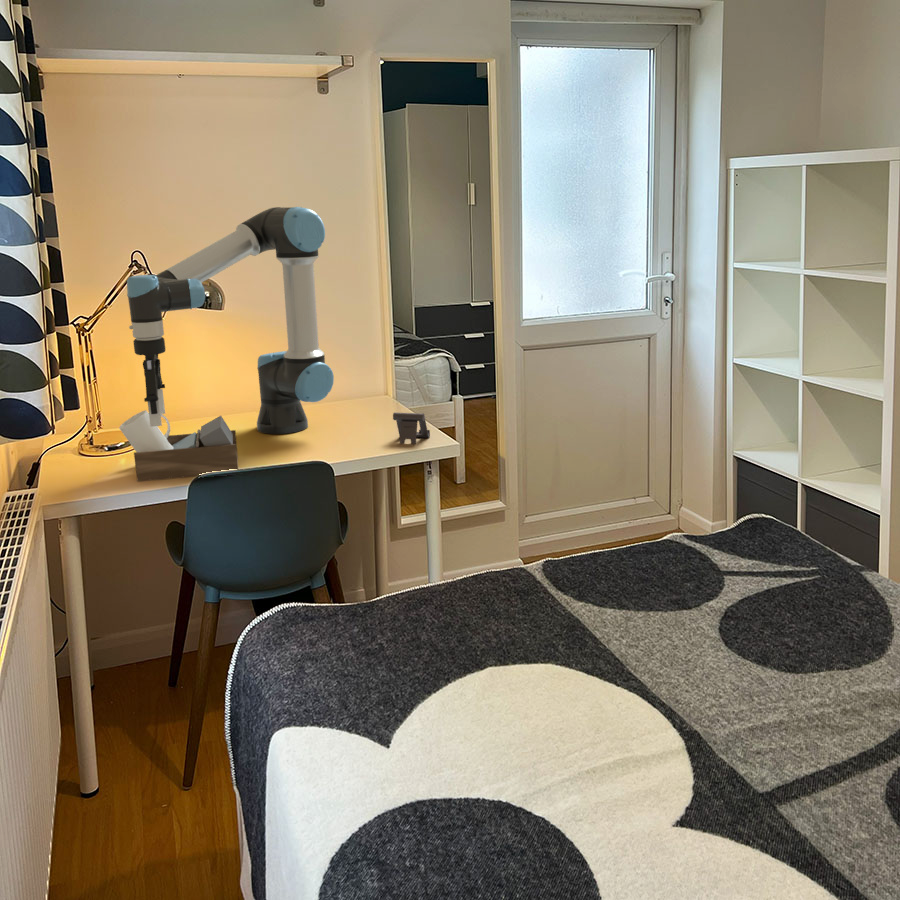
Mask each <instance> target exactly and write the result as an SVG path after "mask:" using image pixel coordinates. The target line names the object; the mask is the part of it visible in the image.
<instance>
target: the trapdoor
mask: <svg viewBox="0 0 900 900" xmlns="http://www.w3.org/2000/svg"><path fill="white" fill-rule="evenodd" d="M200 430H201V432H200V440H201V441H202V443H203V444H204V446H205V447H206V446H218V445H230V444H233V434H232V432H231V429H230V427H229V426H228V424H227V423H226V421H225V419H224V418H223V416H222V415H219V416H217V417H216V418H214V419H212V420H210V421H208V422H207V423H205V424H203V425H201V426H200ZM196 433H197V432H195V431H194V432H192V433H190V434H191V435H189V436H187V437H185V438H184V439H182V440H180V441H178V442H177V443H175V444H173V445H172V446H173V447H174V448H173V449H182V448H194V447H196V439H197V434H196Z"/></svg>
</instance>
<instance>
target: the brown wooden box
mask: <svg viewBox="0 0 900 900" xmlns="http://www.w3.org/2000/svg"><path fill="white" fill-rule="evenodd" d="M230 431H231V432H232V434H233V444H230V445H218V446H206V447H205V446H204V444H203V443H202V441H201V440H200V432H201V429H197V432H196V434H197V439H196V447H194V448H182V449H170V450H158V451H146V452H136V451H135V452H133V457H134V465H135V466H134V467H135V475H136V481H137V482H146V481H159V480H168V479H169V480H170V479H178V478H179V479H180V478H191V477H198V476H197V475H199V474H202V473H206V472H212V471H221V470H229V469H238V470H239V456H238V455H239V454H238V444H237V443H238V442H237V435H236V434H237V433H236V430H235V429H232V430H231V429H230ZM191 434H192V433H183V434H172V435H170V434H169V436H168V438H167V440H168V442H169V443H170V444H171V445H173V444H175V443H177V442H178V441H180V440H182V439H184V438H185V437H187V436H189V435H191Z"/></svg>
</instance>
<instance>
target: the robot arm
mask: <svg viewBox="0 0 900 900" xmlns="http://www.w3.org/2000/svg"><path fill="white" fill-rule="evenodd" d="M235 229H236V230H234V231H233V232H231V233H229V234H228V235H225V236H224V237H222V238H221V239H218V240H216V241H215V242H213V243H212V244H210V245H208V246H206V247H205V248H203V249H200V250H199V251H197V252H195V253H194V254H193V253H192V254H191V255H190V256H188V257H186V258H184V259H183V260H181V261H179V262H177V263H176V264H174V265H172V266H170V267H168V268H167V269H165V270H164V271H161V272H160V273H157V274H141V275H140V274H138V275H131V276H129V277H127V280H126V290H127V300H128V305H129V306H128V307H129V314H130V321H131V325H129V326H128V328H129V330H132V337H133V338H134V340H133V349H134V354H135V355H137V356H144V360H143V361H142V367H143V368H142V369H143V374H144V380H145V381H144V382H145V393H146V395H145V396H146V397H144V399H143V401H144V403H146V402H147V408H148V413H149V418H150V427H152V426H158V427H161V426H163V424H162V416H161V414H162V415H165V414H166V409H165V399H164V390H163V389H165V388H166V386H165V383H164V382H163V380H162V374H161V359H160V358H159V355H161V354H163V353H165V352H166V343H165V338H164V337H163V336H164V335H165V331H164V329H165V328H164V322H163V313H166V312H172V311H181V310H192V309H195V308H200V307H202V306H203V305H204V303H205V301H206V292H205V287H204V285H203V282H205V281H207V280H209V279H211V278H213V277H214V276H215V275H218V274H219V273H221V272H223V271H225V270H226V269H228V268H230V267H231V266H233V265H236V264H237V263H239V262H240V261H243V259H246V258H247V257H249V256H252V257H256V256H258V255H259V254H261V253H264V252H267V251H268V252H269V251H272V250H275V254H276V255H275V256H276V260H278V261H279V263H281V265H282V274H283V275H282V278H283V291H284V292H283V293H284V305H285V306H284V308H285V321H286V333H287V335H286V337H287V347H288V349H287V350H283V351H276V352H269V353H265V354H261V355H259V356H258V358H257V373H258V383H259V396H260V408H259V411H258V417H257V421H256V430H257V431H258V432H259V433H262V434H267V435H281V434H292V433H297V432H300V431H303V430H306V429H308V427H309V422H308V421H309V420H308V417H307V415H306V413H305V410H304V407H303V405H302V402H304V403H318V402H319V401H322V400H324V399H325V398H326V397H327V396H328V394H330V392H331V390H332V388H333V386H334V383H335V379H334V372H333V369H332V368H331V367H330V366H329V365H328V364H327V363H326V358H325V352H324V351H323V350H322V349H321V348H320V347H319V332H318V329H319V327H318V318H317V317H318V314H317V300H316V299H317V298H316V284H315V281H316V280H315V270H314V267H315V266H314V263H315V262H316V260H317V259H318V258H319V249H320V248H321V247H322V244H323V243H325V242H324V241H325V238H326V228H325V224H324V222H323V220H322V218H321V217H320V216H319V214H318V213H316V212H315V211H314V210H312V209H310V208H306V207H302V206H294V207H284V206H283V207H279V206H275V207H270V208H268V209H265V210H263V211H261V212H259V213H257V214H256V215H253V216H251V217H250V218H249V219H246V220H244V221H243V222H241V223H240V224H238V225H237V226H236V228H235ZM163 383H164V384H163Z"/></svg>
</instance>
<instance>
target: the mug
mask: <svg viewBox="0 0 900 900" xmlns="http://www.w3.org/2000/svg"><path fill="white" fill-rule="evenodd" d="M161 418H163V419H164V420H165V421H166V424H167V430H166V432H165V434H163V432H162V431H161V429H160V428H159V426H152V427H150V418H149V411H147V410H145V409H144V410H142V411H140V412H138V413H136V414H134V415H132V416H131V417H130V418H128V419H127V420H125V421H124V422H123V423H121V424H120V425H119V427H118V428H119V430H120V431H121V433H122V434H123V436H124V437H125V438H126V440H127V441H128V442H129V444H130V445H131V447H132V448H133V450H134V451H135V452H146V451H158V450H170V449H173V448H174V447H173V446H172V445H171V444H170V443H169V442H168V440H167V438H168V436H169V435H170V433H171V424H170V421H169V419H168V418H167V417H166V416H165V414H161Z"/></svg>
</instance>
